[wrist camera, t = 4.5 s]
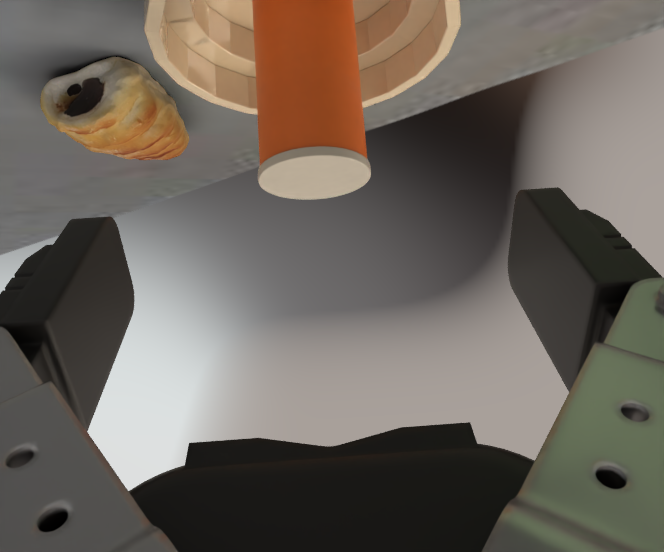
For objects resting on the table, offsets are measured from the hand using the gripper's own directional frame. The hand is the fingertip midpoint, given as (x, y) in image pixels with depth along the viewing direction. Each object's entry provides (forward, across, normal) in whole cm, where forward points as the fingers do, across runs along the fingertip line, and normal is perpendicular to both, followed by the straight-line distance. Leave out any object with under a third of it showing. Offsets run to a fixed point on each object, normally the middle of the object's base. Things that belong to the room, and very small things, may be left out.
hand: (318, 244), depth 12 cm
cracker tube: (+20, 0, -3) cm, 20 cm away
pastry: (+27, +11, +4) cm, 30 cm away
